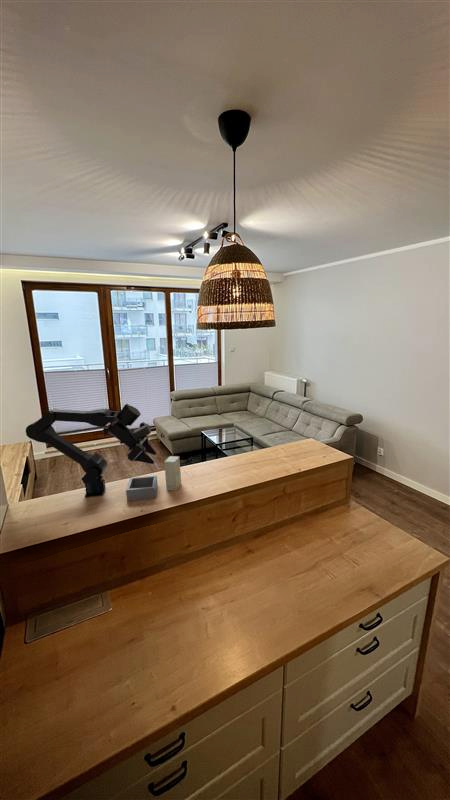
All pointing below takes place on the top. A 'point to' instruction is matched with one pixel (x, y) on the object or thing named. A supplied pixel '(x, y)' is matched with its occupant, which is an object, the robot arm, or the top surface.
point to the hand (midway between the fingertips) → (154, 458)
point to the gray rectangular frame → (142, 488)
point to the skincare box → (172, 472)
